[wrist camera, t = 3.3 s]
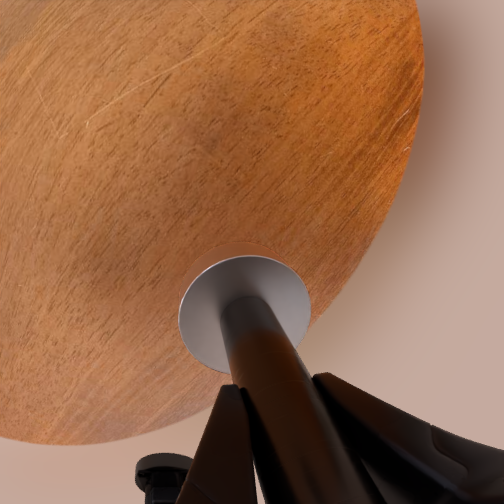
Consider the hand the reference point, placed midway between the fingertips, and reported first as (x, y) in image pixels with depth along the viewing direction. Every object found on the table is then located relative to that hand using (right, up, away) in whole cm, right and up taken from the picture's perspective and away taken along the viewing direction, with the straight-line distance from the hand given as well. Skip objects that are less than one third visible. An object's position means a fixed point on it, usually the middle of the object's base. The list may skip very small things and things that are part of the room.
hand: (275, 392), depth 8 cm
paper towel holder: (-1, +2, +6) cm, 6 cm away
